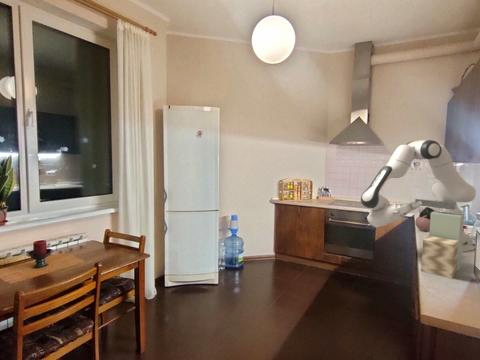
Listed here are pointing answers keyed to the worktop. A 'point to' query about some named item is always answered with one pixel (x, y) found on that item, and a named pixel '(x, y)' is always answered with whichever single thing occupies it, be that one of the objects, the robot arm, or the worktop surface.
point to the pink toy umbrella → (423, 223)
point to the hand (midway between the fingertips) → (423, 201)
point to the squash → (426, 212)
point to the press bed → (439, 256)
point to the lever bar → (437, 204)
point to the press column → (448, 228)
